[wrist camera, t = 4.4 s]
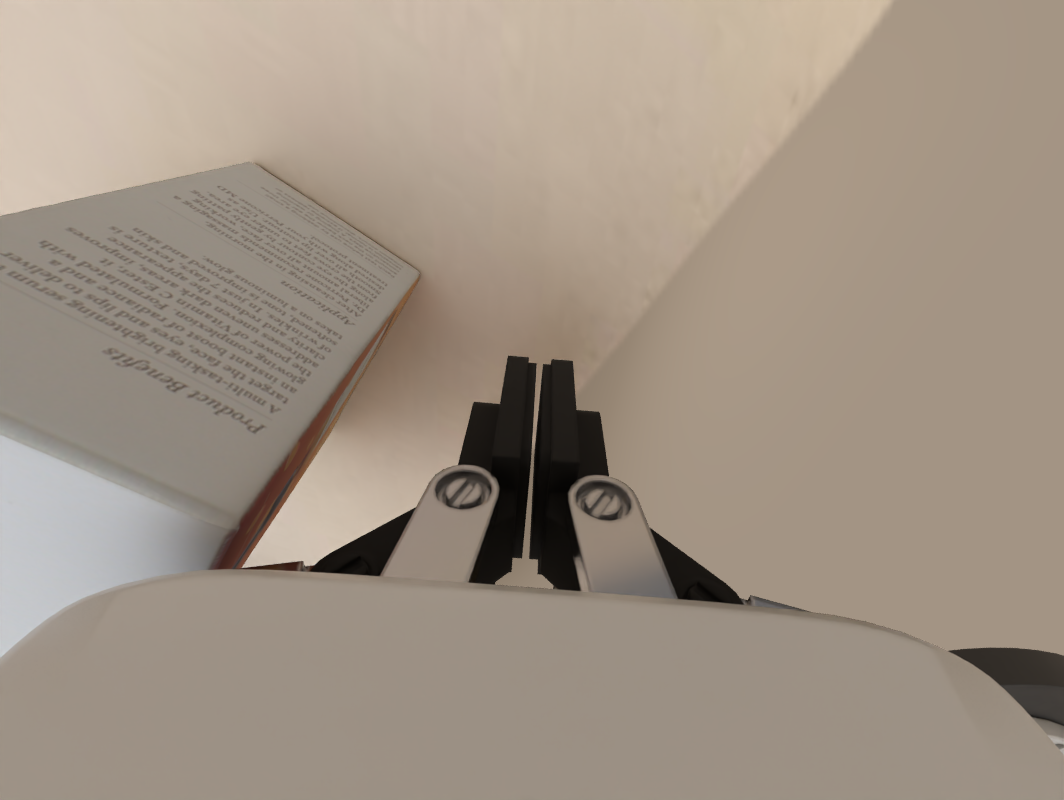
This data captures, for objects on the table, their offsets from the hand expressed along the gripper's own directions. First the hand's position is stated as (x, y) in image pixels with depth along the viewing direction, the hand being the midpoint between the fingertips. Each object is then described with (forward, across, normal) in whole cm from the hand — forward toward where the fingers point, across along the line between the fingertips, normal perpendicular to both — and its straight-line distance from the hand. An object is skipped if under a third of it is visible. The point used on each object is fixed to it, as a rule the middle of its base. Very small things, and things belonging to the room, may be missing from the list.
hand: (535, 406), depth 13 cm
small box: (+4, +8, 0) cm, 9 cm away
